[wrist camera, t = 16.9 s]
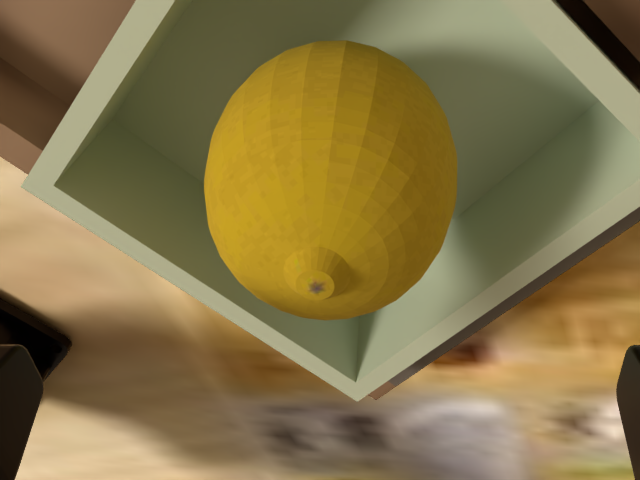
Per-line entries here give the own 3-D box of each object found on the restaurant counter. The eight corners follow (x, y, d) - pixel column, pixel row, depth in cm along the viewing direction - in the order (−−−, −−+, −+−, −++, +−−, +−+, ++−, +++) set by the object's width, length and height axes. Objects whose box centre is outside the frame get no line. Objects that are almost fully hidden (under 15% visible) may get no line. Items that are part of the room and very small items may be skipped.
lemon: (335, 219, 19) (308, 429, 13) (205, 92, 17) (93, 267, 11) (484, 114, 17) (545, 309, 10) (353, -50, 15) (325, 66, 8)
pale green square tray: (634, 83, 17) (703, 161, 13) (362, 302, 22) (357, 401, 18) (324, -246, 13) (299, -266, 9) (93, 111, 19) (20, 186, 15)
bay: (708, 78, 17) (770, 132, 15) (377, 330, 24) (375, 399, 21) (34, -686, 11) (-92, -862, 8) (-158, -44, 18) (-264, -15, 15)
